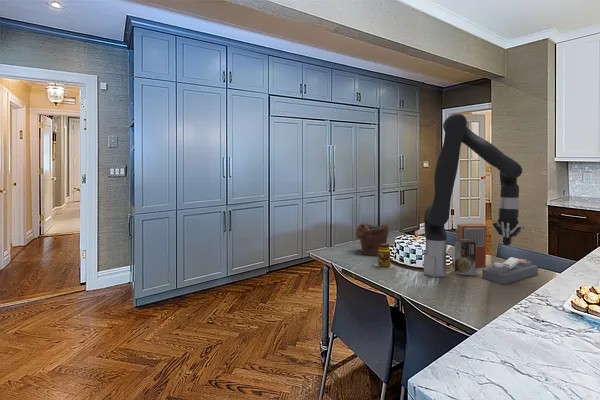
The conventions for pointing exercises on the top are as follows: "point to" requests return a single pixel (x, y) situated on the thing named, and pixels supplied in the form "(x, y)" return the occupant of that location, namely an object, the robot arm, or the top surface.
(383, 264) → the condiment
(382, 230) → the brown plant pot
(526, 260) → the terracotta button
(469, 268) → the cookie box
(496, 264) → the grey button
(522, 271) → the switch console
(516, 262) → the rocker switch
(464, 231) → the red upright rectangular box
